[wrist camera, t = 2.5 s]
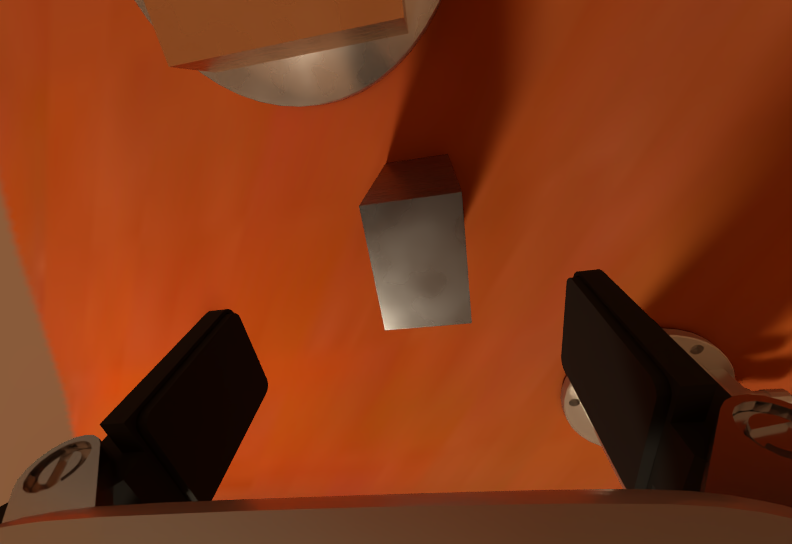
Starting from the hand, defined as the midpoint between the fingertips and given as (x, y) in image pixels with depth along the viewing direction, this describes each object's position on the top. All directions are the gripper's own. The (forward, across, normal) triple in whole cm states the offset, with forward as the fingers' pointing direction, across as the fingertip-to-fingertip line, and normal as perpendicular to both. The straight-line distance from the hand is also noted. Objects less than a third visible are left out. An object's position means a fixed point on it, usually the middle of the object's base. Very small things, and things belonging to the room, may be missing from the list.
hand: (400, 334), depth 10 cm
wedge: (+15, -1, +1) cm, 15 cm away
